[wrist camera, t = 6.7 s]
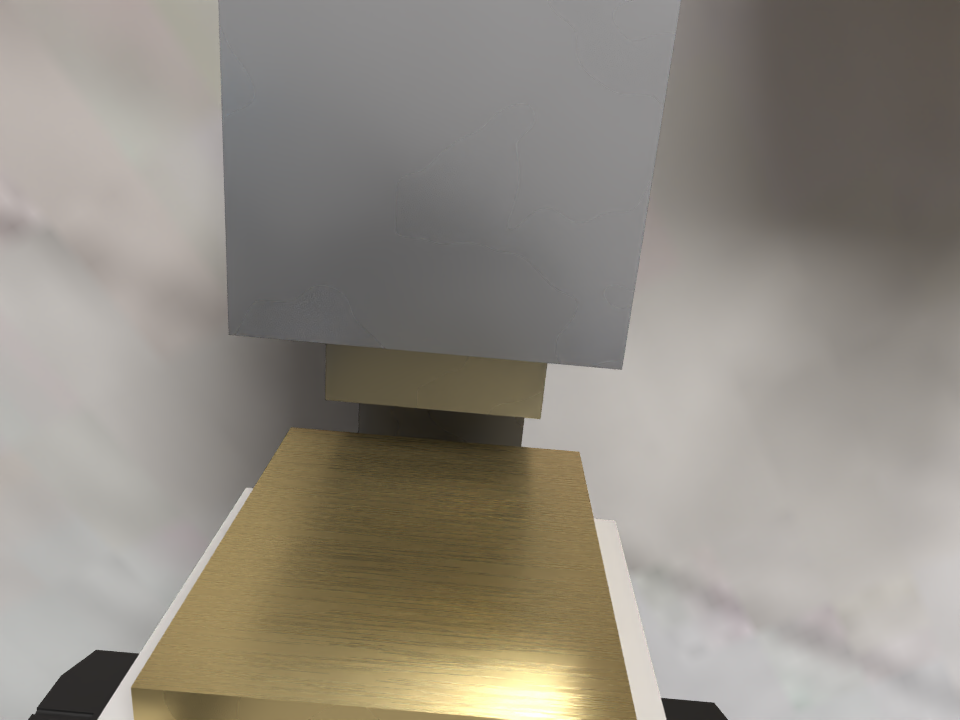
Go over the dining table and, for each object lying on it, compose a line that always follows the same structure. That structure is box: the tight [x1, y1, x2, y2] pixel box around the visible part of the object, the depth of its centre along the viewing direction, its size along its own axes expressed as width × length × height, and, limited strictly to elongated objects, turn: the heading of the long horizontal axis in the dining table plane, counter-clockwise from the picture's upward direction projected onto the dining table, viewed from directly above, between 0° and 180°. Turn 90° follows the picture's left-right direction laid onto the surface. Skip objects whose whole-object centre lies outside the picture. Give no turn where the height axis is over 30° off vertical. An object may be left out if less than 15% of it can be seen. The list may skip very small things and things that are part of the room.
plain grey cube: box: [218, 0, 681, 370], centre depth 12 cm, size 5×5×6 cm
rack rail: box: [325, 343, 547, 447], centre depth 16 cm, size 4×24×6 cm, turn 175°
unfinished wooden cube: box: [131, 427, 637, 720], centre depth 11 cm, size 5×5×6 cm
